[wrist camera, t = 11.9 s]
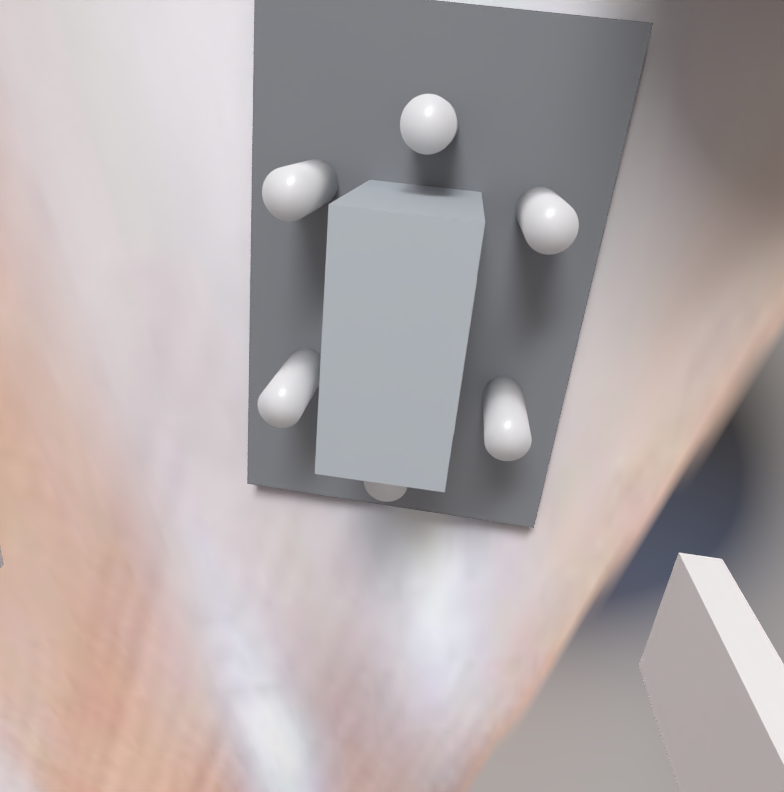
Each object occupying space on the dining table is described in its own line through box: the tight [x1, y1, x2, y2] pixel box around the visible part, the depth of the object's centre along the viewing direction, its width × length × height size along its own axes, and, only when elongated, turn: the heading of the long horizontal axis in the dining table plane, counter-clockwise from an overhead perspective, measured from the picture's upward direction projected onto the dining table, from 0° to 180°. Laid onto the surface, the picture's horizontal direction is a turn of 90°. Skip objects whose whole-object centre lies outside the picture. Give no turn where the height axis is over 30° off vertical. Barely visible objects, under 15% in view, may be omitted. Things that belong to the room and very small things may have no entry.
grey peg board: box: [247, 0, 653, 528], centre depth 29 cm, size 16×24×6 cm, turn 174°
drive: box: [315, 180, 485, 492], centre depth 26 cm, size 5×10×9 cm, turn 174°
